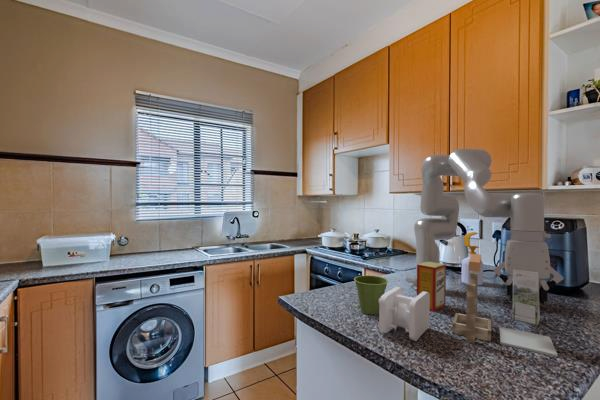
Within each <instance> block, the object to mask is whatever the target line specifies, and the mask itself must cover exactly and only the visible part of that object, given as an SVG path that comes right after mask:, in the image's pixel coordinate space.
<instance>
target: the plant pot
mask: <svg viewBox="0 0 600 400" xmlns="http://www.w3.org/2000/svg"><path fill="white" fill-rule="evenodd" d="M353 280H354V282H355V286H356V291H357V297H358V301H359V302H358V303H359V308H360V311H361V313H364V314H366V315H378V314H379V307H380V303H379V299H380V298H381V296H382V295H383V294H385V293H386V292H385V291H386V289H387V284H388V283H389V280H388V279H387V278H385V277H383V276H378V275H370V274H369V275H358V276H355V277H354V278H353Z"/></svg>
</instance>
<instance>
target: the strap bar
mask: <svg viewBox="0 0 600 400" xmlns="http://www.w3.org/2000/svg"><path fill="white" fill-rule="evenodd" d="M481 261H482V254H480V253H479V254H478V253H476V254H472V255H471V258H470V260H469V271H477V272H480V266H481Z"/></svg>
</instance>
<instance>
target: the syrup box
mask: <svg viewBox="0 0 600 400" xmlns="http://www.w3.org/2000/svg"><path fill="white" fill-rule="evenodd" d="M512 284H513V299H512V320H513V321H516V322H521V323H526V324H530V325H534V326H539V322H540V320H541V319H540V317H541V316H540V314H541V313H540V310H541V309H540V304H539V302H540V281H539V273H538V272H534V271H523V270H514V269H513V281H512Z"/></svg>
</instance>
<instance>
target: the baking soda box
mask: <svg viewBox="0 0 600 400" xmlns="http://www.w3.org/2000/svg"><path fill="white" fill-rule="evenodd" d="M446 273H447V264H445V263H441V262H440V263H435V262H423V263H420V264H418V265H417V290H416V296H418V295H419V294H420V293H422V292H423V291H425V292H429V295H430V306H429V312H433V313H435V312H436V311H439V310H440V309H442V308H444V307H446V300H447V299H446V298H447V297H446V295H447V294H446V288H447V287H446V286H447V285H446V284H447V282H446V281H447V279H446V278H447V274H446Z"/></svg>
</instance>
